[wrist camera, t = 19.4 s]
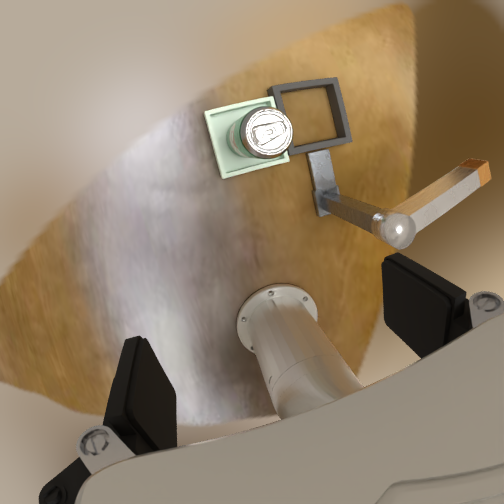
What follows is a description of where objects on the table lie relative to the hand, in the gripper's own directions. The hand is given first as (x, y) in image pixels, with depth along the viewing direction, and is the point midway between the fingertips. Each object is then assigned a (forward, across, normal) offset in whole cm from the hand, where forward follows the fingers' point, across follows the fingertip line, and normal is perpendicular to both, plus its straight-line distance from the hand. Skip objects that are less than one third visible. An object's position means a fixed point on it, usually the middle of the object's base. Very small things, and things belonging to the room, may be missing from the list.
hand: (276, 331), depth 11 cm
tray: (+30, -6, -7) cm, 32 cm away
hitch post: (+30, -15, +1) cm, 34 cm away
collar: (+30, -15, -8) cm, 35 cm away
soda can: (+30, -6, -7) cm, 31 cm away
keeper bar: (+16, -22, +2) cm, 27 cm away
